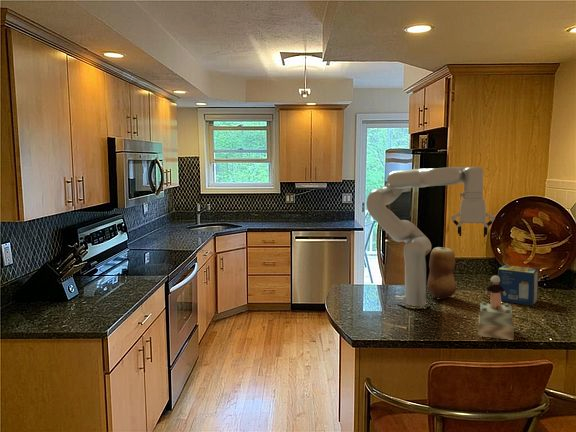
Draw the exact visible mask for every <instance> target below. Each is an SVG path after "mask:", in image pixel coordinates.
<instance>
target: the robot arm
mask: <svg viewBox="0 0 576 432" xmlns="http://www.w3.org/2000/svg"><path fill="white" fill-rule="evenodd" d="M386 182H387V183H386V184H385V185H384V186H383V187H381V188H375V189H373V190H371V192H370V193H369V194H368V196H367V197H366V198H367V199H366V209H367V211H368V213H369V216H370V217H372V219H373V220H374V221H375V222H376V223H377V224H378V225H379V226H380V227H381V228H382V229H383V230H384V231H385V233H387V235H389V237H390V238H391V239H392V240H393V241H394V242H397V243H401V242H402V243H403V242H404V243H405V245H403V246H404V247H403V259H404V295H401V296H400V295H395V297H394V298H395V300H396V301H397V302H401V303H402V302H403V303H406V304H408V305H412V306H424V305H426V302H427V261H426V256H427V255H428V254H429V253H431V251H432V243H431V241H430V239H429V238H428V237H427V236H426V234H424V233H423V232H422V231H421V230H420V229H419V227H417V225H415V223H413V222H411V220H410V221H409V220H406V219H400V218H399V217H398V216H396V214H395V213H394V212H393V211H392V210H390V209H389V208H388V207H387V206H389V205H390V204H392V203H393V202H394V201H396V199H398V197H400V195H402V193H403V192H404V191H405V190H406V189H415V188H426V187H435V186H436V187H437V186H439V187H441V186H454V185H458V184H459V185H460V184H463V192H461V193H459V197H460V198H463V199H461V201H460V205H459V207H460V208H459V212H458V213H455V214H453V215H451V216H450V219H451V220H452V222H453V223H454V224H455V225H456V226H457V235H458V236H459V237H461V236H462V225H463V224H482V225H483V226H484V227H483V238H486V236H487V235H488V228H489V227H490V226H491V225H492V224H493V223H494V221H495V220H496V217H495V216H494V215H492V214H489V213H488V212H486V211H487V208H486V200H485V199H483V193H484V192H483V191H484V169H483V168H482V167H481V166H468V167H463V166H447V167H438V168H435V167H434V168H411V169H397V170H393V171H391V172H390V173H388V175H387V177H386ZM458 217H459V221H457V219H456V218H458ZM486 218H489V219H490V220H489V221H488V222H487V221H486V220H487V219H486Z"/></svg>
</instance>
